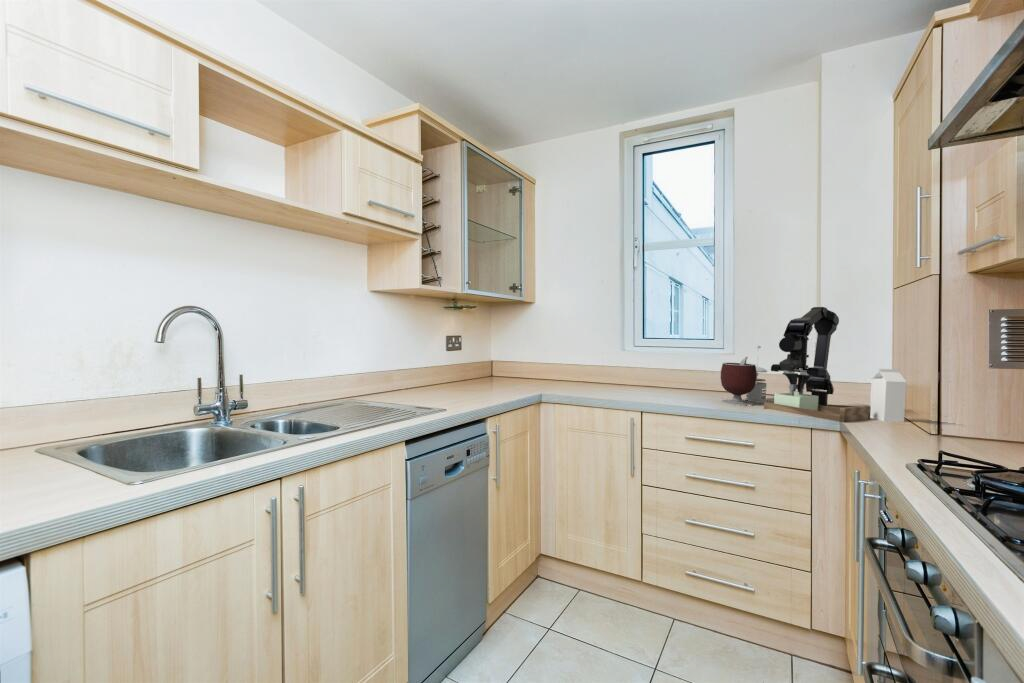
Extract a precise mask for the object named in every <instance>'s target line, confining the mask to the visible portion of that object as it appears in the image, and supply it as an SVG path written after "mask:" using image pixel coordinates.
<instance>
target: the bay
mask: <svg viewBox="0 0 1024 683" xmlns="http://www.w3.org/2000/svg"><path fill="white" fill-rule="evenodd" d="M763 409H764V410H772V411H773V410H774V411H779V412H784V413H790V414H795V415H799V416H807V417H812V418H817V419H822V420H823V419H824V420H829V421H834V422H839V423H851V422H857V421H858V422H859V421H866V420H867V421H868V420H871V418H870V411H871V406H870V405H858V406H847V407H834V406H830V405H829V406H828V405H827V406H822V405H818V411H816V410H810V409H804V408H798V407H792V406H786V405H780V404H774V402H769V401H768V402H764V403H763Z"/></svg>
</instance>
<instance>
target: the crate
mask: <svg viewBox="0 0 1024 683" xmlns="http://www.w3.org/2000/svg"><path fill="white" fill-rule="evenodd" d="M788 387H789V388H788V389H789V392H779V393H777V392H776V393H774V399H773V403H774V404H780V405H786V406H792V407H798V408H804V409H810V410H816V411H818V396H815V395H811V394H806V393H804V389H805V385H804V386H803V388H802V390H801V392H795V391H794V389H796V390H798V383H797V384H792V385H790V384H789V385H788Z"/></svg>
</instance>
